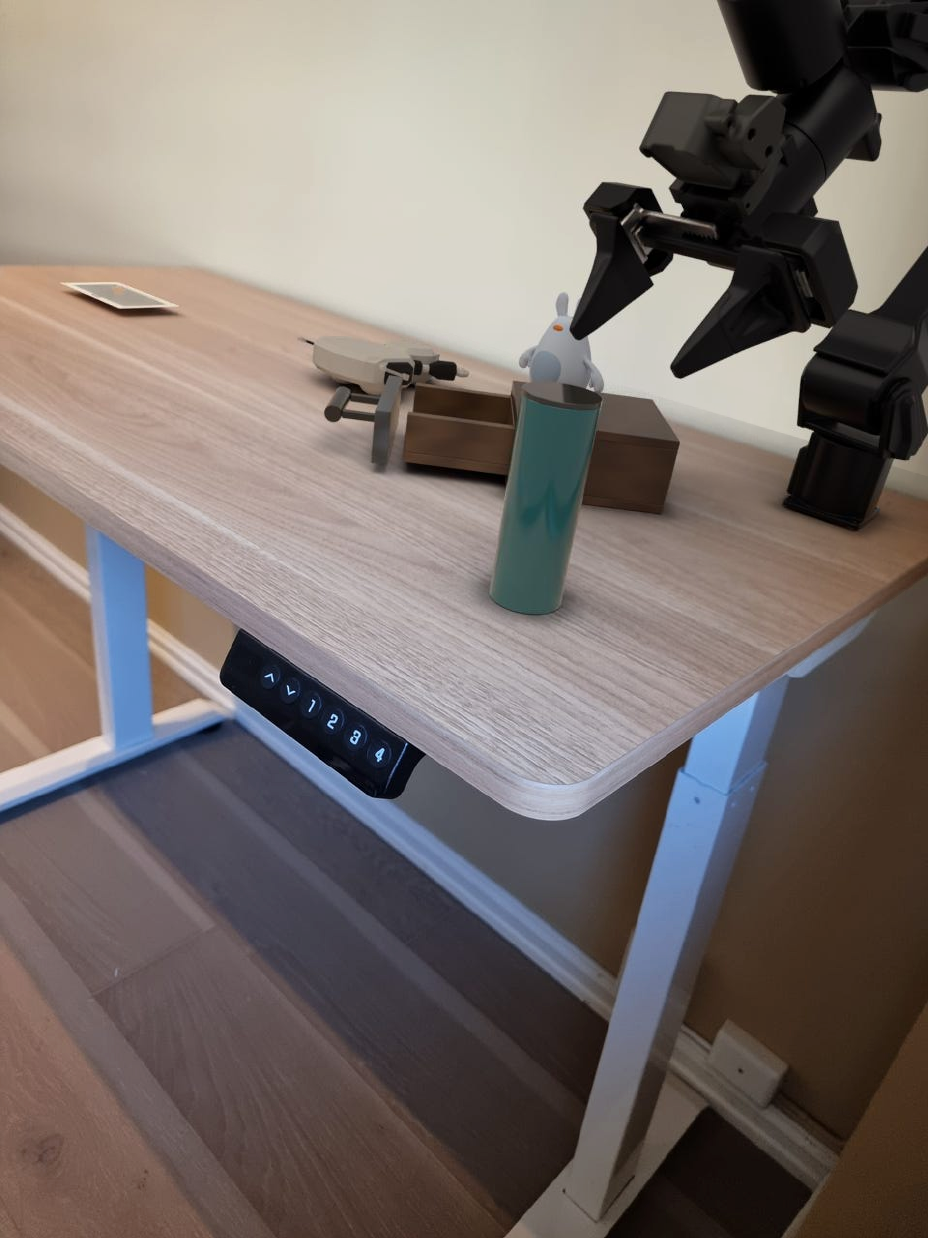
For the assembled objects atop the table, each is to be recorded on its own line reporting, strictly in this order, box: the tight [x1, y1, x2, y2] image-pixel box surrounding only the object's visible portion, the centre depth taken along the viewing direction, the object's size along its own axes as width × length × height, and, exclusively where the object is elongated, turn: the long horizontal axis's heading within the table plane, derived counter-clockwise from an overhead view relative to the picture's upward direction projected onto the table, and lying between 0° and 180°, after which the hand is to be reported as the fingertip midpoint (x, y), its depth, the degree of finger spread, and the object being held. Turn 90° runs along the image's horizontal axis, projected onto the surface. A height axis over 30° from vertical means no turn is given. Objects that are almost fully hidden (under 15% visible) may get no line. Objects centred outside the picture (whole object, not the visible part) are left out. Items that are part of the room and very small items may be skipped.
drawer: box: [323, 375, 516, 476], centre depth 73 cm, size 16×11×4 cm
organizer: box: [504, 380, 681, 515], centre depth 73 cm, size 12×12×6 cm
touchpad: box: [60, 281, 180, 310], centre depth 111 cm, size 8×15×2 cm, turn 46°
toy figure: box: [518, 291, 605, 393], centre depth 88 cm, size 11×6×12 cm, turn 47°
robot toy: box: [296, 335, 470, 397], centre depth 92 cm, size 12×4×15 cm
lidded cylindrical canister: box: [488, 381, 603, 615], centre depth 51 cm, size 4×4×12 cm
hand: (620, 353), depth 54 cm, fingers open, 9 cm apart
